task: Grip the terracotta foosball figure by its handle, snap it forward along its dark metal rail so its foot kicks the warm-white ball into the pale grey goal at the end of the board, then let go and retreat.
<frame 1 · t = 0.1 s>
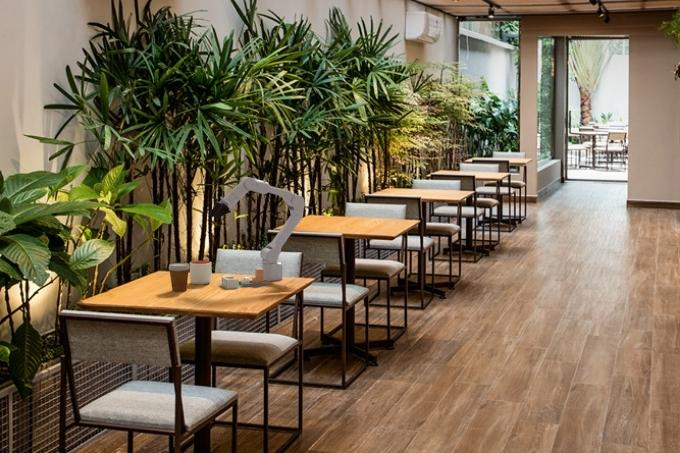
hand: (212, 216, 469), 32 cm above the table, tool tilted 50°, fingers open, 7 cm apart
cup: (200, 283, 477), on the table
disposable coffee cup: (179, 291, 458), on the table
pitch board: (242, 286, 468), on the table
figure: (258, 276, 468), point 5 cm above the table, slide at 0.0 cm
ball: (245, 281, 466), point 3 cm above the table, touching pitch board
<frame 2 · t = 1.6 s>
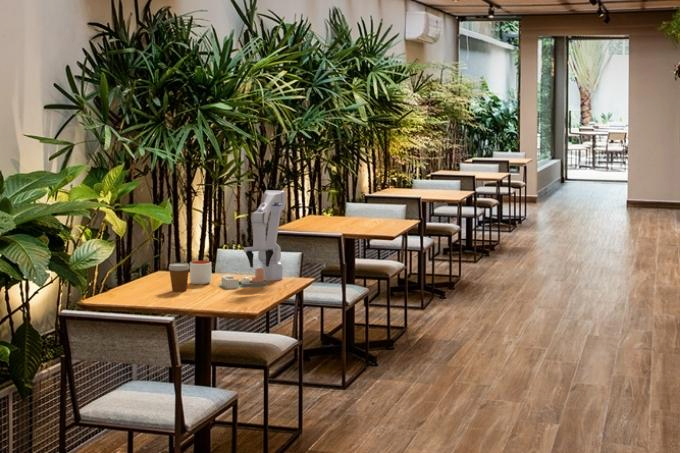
hand: (259, 266, 468), 9 cm above the table, tool pointing down, fingers open, 7 cm apart
nothing on the table moved.
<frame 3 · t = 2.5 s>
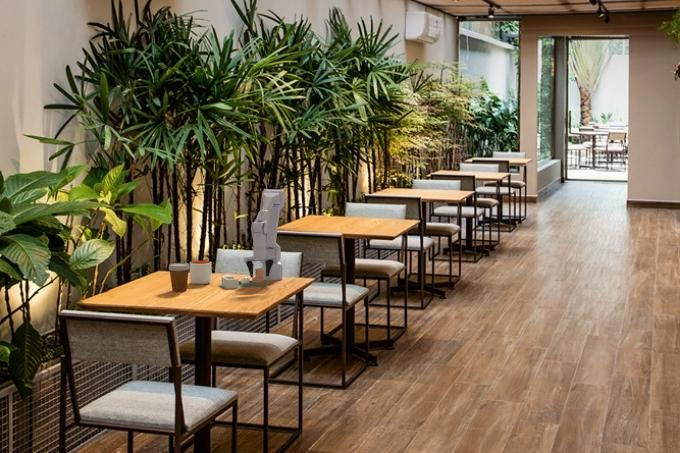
hand: (259, 276, 469), 5 cm above the table, tool pointing down, fingers open, 7 cm apart
nothing on the table moved.
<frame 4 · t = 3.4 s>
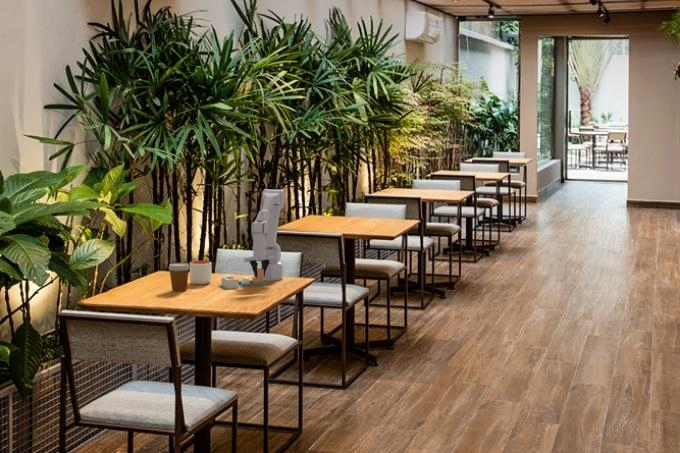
hand: (259, 276, 469), 5 cm above the table, tool pointing down, fingers closed on figure, 3 cm apart
figure: (258, 276, 468), point 5 cm above the table, slide at 0.0 cm, touching gripper
everything else where it was.
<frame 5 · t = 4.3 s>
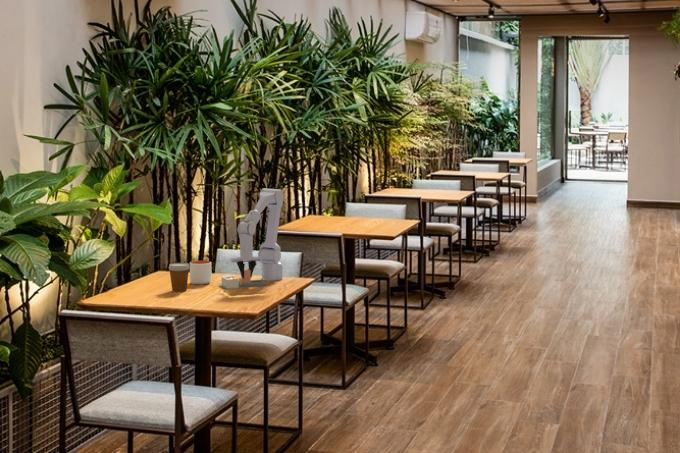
hand: (246, 277, 466), 5 cm above the table, tool pointing down, fingers closed on figure, 3 cm apart
figure: (245, 277, 466), point 5 cm above the table, slide at 6.3 cm, touching gripper
ball: (230, 282, 463), point 3 cm above the table, tilted 167°, touching pitch board
everything else where it was.
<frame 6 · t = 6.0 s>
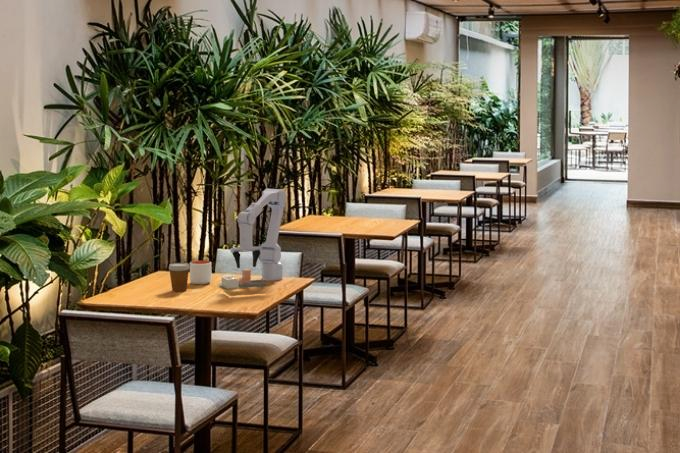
hand: (246, 267, 466), 9 cm above the table, tool pointing down, fingers open, 7 cm apart
figure: (245, 277, 466), point 5 cm above the table, slide at 6.3 cm
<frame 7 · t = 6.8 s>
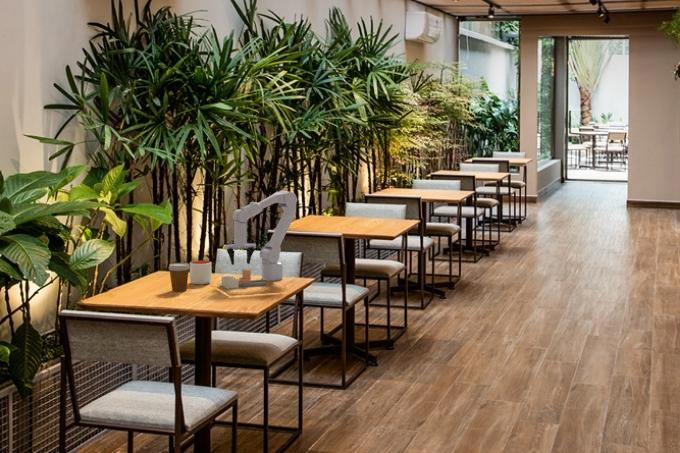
hand: (240, 264, 475), 9 cm above the table, tool pointing down, fingers open, 7 cm apart
ball: (232, 281, 464), point 3 cm above the table, tilted 161°, touching pitch board
everything else where it was.
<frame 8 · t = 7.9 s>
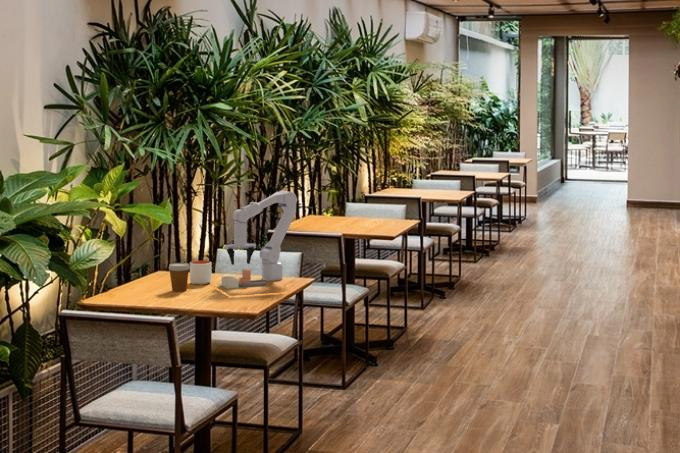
hand: (240, 264, 475), 9 cm above the table, tool pointing down, fingers open, 7 cm apart
ball: (233, 281, 464), point 3 cm above the table, tilted 147°, touching pitch board
everything else where it was.
at the end: ball 1.3 cm from the target spot, point 3.0 cm above the table; figure slide at 6.3 cm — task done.
